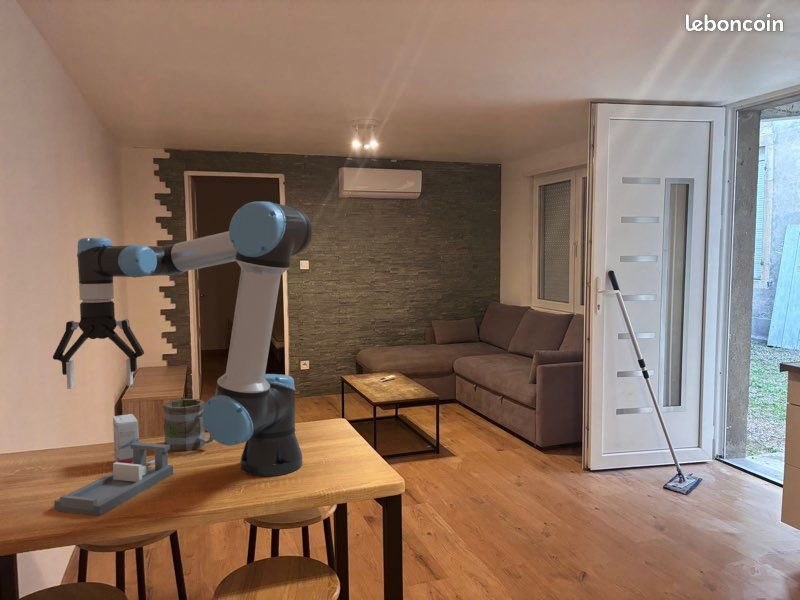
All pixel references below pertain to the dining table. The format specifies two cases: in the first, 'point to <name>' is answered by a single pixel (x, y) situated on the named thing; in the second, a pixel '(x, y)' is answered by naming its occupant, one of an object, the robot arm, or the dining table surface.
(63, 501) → the lane
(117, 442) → the ink box
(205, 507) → the dining table surface
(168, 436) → the mug
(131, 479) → the pusher
